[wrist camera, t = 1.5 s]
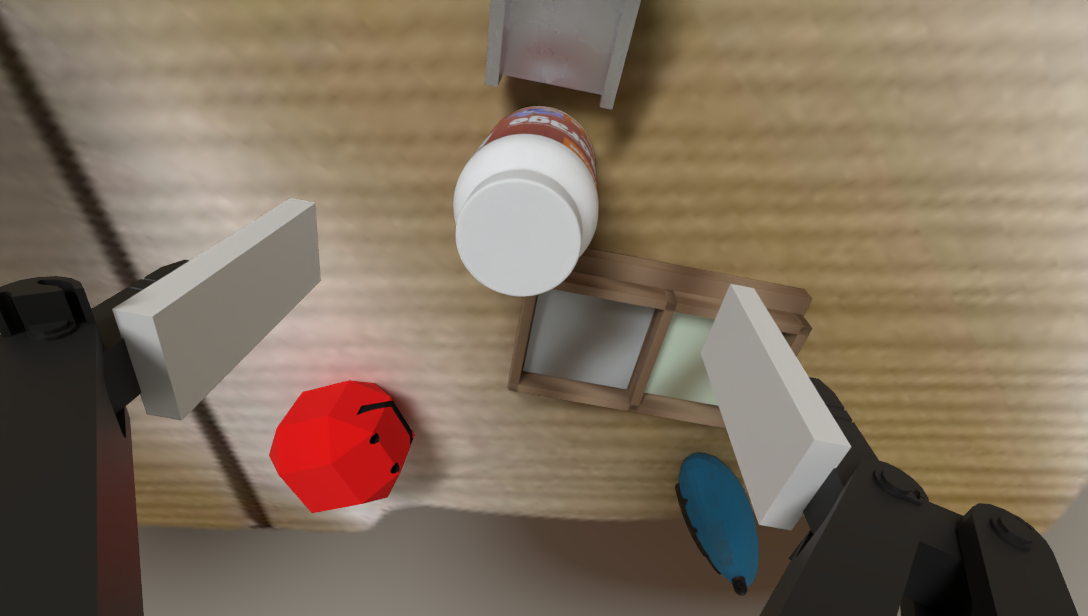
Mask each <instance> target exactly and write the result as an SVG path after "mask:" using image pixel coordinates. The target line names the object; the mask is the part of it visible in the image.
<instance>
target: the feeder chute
mask: <svg viewBox="0 0 1088 616" xmlns="http://www.w3.org/2000/svg"><path fill="white" fill-rule="evenodd" d="M640 2H641V0H491V3H490V18H489V33H488V48H487V63H486V77H485V84H487V85H492V86H497V87H498V85H499V83H500V80H501V78H502V75H506V76H511V77H516V78H521V79H526V80H531V81H536V82H541V83H546V84H551V85H556V86H560V87H565V88H570V89H575V90H580V91H585V92H590V93H595V94H600V107H601V108H606V109H611V110H612V108H613V105H614V101H615V97H616V93H617V89H618V86H619V82H620V78H621V74H622V71H623V67H624V63H625V59H626V55H627V52H628V48H629V44H630V40H631V36H632V33H633V29H634V25H635V21H636V17H637V14H638V10H639V6H640Z"/></svg>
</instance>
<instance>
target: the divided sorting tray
mask: <svg viewBox="0 0 1088 616" xmlns="http://www.w3.org/2000/svg"><path fill="white" fill-rule="evenodd" d="M730 284H734V285H740V286H745V287H750V288H754V289H755V291H756V293H757V294H758V296H759V297H760V299H761V301H762V302H763V304H764V306H765V307H766V309H767V310H768V312H769V314H770V315H771V317H772V319H773V320H774V322H775V323H776V325H777V327H778V328H779V330H780V332H781V333H782V335H783V336H784V338H785V340H786V341H787V343H788V345H789V346H790V348H791V349H792V351H793V353H794V354H795V356H797V355H798V353H799V351H800V349H801V347H802V346H803V344H804V342H805V340H806V339H807V337H808V335H809V333H810V331H811V330H812V327H811V326H810V325H809V323H808V322H807V320H806V319H805V318H804V314H805V312H806V310H807V308H808V306H809V305H810V303H811V301H812V298H811V297H810V295H809V294H808V293H807V292H806V290H805V289H800V288H795V287H790V286H784V285H779V284H774V283H768V282H763V281H758V280H753V279H747V278H742V277H737V276H732V275H726V274H721V273H716V272H711V271H705V270H700V269H695V268H689V267H684V266H679V265H674V264H668V263H663V262H658V261H653V260H647V259H642V258H637V257H631V256H626V255H621V254H616V253H610V252H605V251H600V250H595V249H589V248H587V249H586V250H585V251H584V253H583V254H582V255H581V256H580V257H579V258H578V261H577V263H576V265H575V267H574V269H573V270H572V272H571V273H570V275H569V276H568V277H567V278H566V279H565V280H564V281H563V282H562V283H560V284H559V285H558V286H556V287H555V288H553V289H551V290H549V291H547V292H544V293H541V294H538V295H533V296H525V297H524V298H523V304H522V309H521V315H520V320H519V326H518V331H517V337H516V342H515V348H514V353H513V359H512V364H511V370H510V375H509V381H508V386H507V388H509V389H508V390H511V391H517V392H522V393H528V394H534V395H539V396H545V397H551V398H556V399H562V400H568V401H573V402H579V403H585V404H590V405H596V406H602V407H607V408H613V409H619V410H624V411H630V412H636V413H641V414H647V415H653V416H658V417H664V418H670V419H675V420H681V421H687V422H692V423H698V424H704V425H709V426H715V427H721V428H726V426H725V423H724V420H723V417H722V415H721V412H720V409H719V406H718V403H717V400H716V397H715V394H714V391H713V388H712V385H711V382H710V379H709V376H708V373H707V370H706V368H705V365H704V362H703V359H702V356H701V351H702V349H703V346H704V344H705V342H706V339H707V337H708V335H709V332H710V330H711V328H712V325H713V323H714V321H715V318H716V316H717V314H718V311H719V309H720V307H721V304H722V302H723V300H724V297H725V295H726V293H727V290H728V288H729V286H730Z"/></svg>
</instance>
